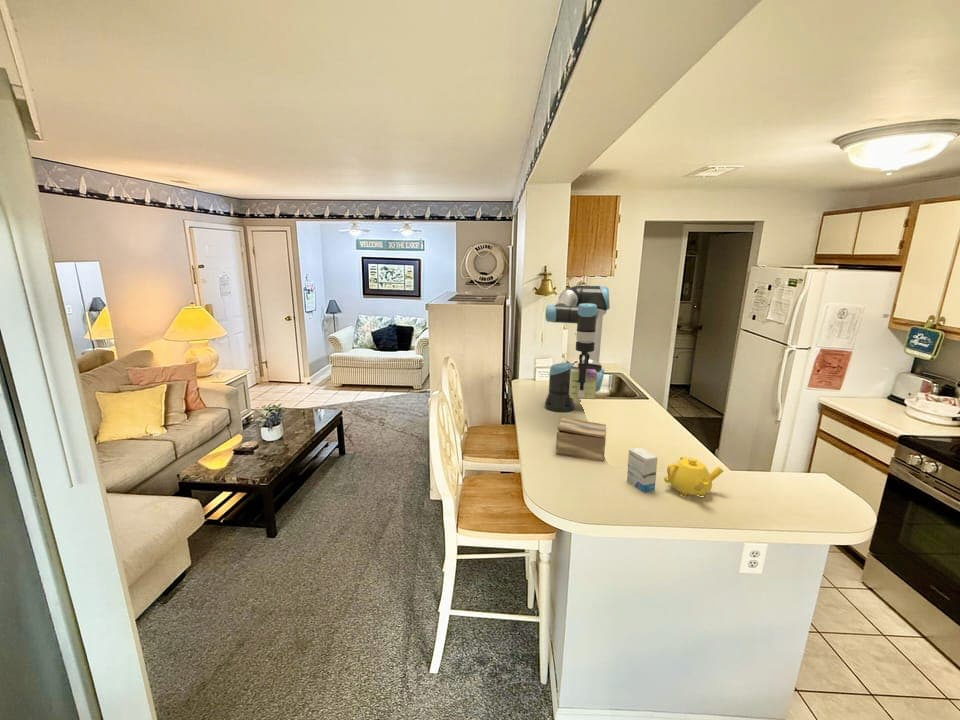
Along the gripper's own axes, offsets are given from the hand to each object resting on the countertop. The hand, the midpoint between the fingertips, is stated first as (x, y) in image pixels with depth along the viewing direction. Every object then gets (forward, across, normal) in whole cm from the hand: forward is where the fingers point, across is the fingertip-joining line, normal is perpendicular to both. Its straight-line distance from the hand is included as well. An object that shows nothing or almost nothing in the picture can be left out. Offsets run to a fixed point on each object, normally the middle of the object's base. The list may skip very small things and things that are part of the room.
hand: (581, 394), depth 178 cm
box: (+1, 0, 0) cm, 1 cm away
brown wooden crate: (+18, +18, +2) cm, 25 cm away
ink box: (+18, +39, +23) cm, 48 cm away
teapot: (+18, +38, +39) cm, 57 cm away
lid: (+8, +17, +2) cm, 19 cm away
